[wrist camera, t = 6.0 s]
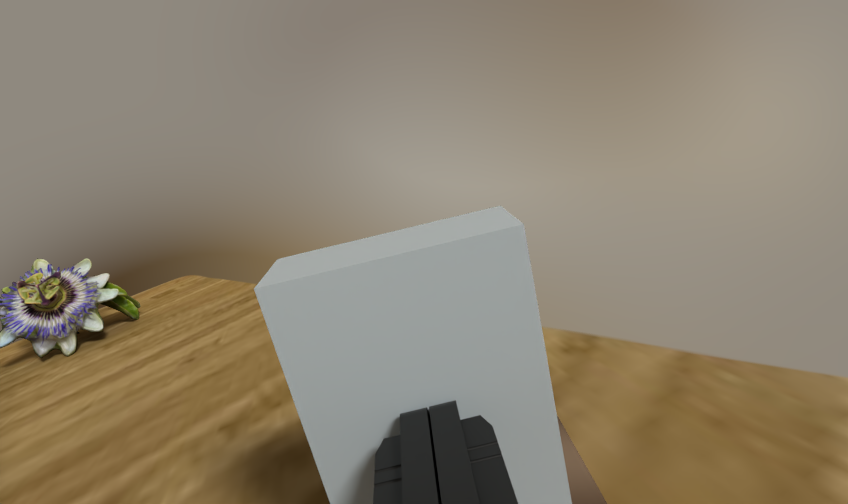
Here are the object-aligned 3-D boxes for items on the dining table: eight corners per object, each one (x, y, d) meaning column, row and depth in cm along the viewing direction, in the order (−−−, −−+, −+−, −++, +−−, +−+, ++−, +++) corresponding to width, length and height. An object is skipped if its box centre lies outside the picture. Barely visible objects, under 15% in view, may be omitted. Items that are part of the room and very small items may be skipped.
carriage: (588, 586, 14) (527, 227, 11) (303, 656, 14) (159, 315, 11) (516, 416, 22) (468, 180, 19) (335, 460, 22) (257, 231, 18)
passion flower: (94, 396, 51) (-33, 352, 43) (76, 356, 59) (-36, 312, 50) (165, 309, 54) (58, 252, 46) (139, 282, 61) (43, 228, 53)
